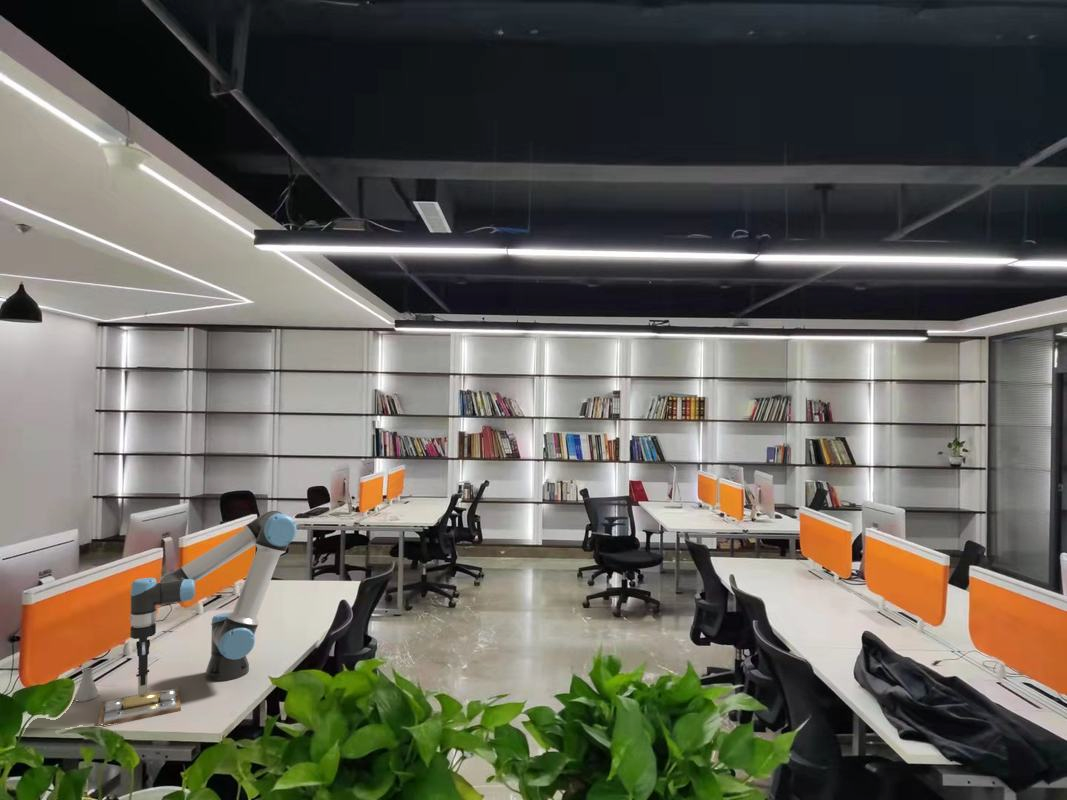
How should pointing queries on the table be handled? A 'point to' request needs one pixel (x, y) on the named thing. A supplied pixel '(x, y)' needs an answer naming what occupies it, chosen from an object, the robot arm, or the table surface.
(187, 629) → the table surface
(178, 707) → the board
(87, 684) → the flask
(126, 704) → the gold silver metal bar
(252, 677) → the table surface
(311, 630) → the table surface
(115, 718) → the fixed leaf
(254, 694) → the table surface
